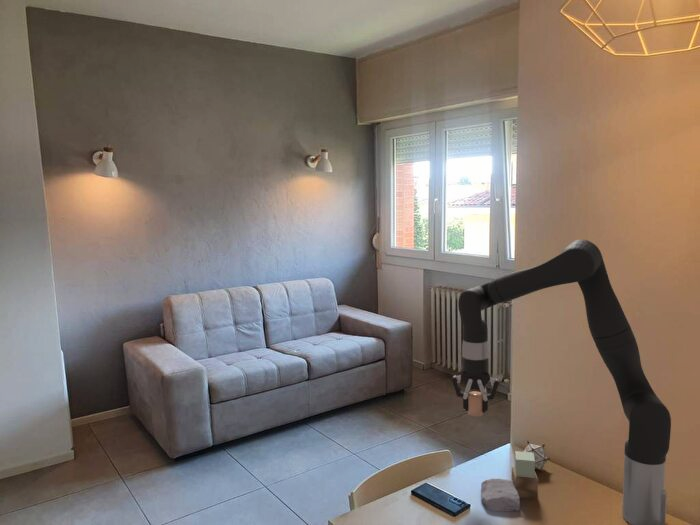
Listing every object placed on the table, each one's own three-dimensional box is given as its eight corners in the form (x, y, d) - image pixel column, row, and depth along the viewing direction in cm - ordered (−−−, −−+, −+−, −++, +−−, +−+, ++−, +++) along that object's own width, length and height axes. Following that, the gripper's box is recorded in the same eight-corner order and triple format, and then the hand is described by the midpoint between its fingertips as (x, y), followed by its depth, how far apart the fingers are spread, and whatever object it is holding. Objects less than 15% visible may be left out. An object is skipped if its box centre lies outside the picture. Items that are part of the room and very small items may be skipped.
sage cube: (533, 469, 153) (533, 452, 153) (534, 478, 148) (534, 461, 148) (515, 467, 154) (515, 451, 154) (515, 476, 150) (515, 459, 149)
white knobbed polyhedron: (539, 478, 166) (559, 454, 165) (533, 481, 159) (554, 455, 158) (516, 457, 171) (535, 433, 170) (509, 458, 164) (529, 433, 163)
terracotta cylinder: (483, 411, 160) (483, 392, 159) (482, 417, 156) (482, 397, 155) (468, 409, 161) (468, 390, 160) (467, 415, 157) (467, 396, 156)
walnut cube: (532, 487, 155) (533, 467, 154) (537, 498, 149) (537, 478, 148) (511, 486, 155) (511, 467, 155) (515, 498, 150) (515, 477, 149)
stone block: (486, 518, 144) (523, 511, 143) (482, 501, 144) (520, 494, 143) (480, 495, 156) (514, 489, 155) (476, 479, 155) (510, 473, 154)
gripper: (449, 357, 155) (449, 413, 157) (500, 360, 150) (500, 418, 152) (452, 350, 162) (452, 404, 164) (501, 352, 157) (501, 408, 160)
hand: (475, 410), depth 158 cm, fingers closed on terracotta cylinder, 4 cm apart
